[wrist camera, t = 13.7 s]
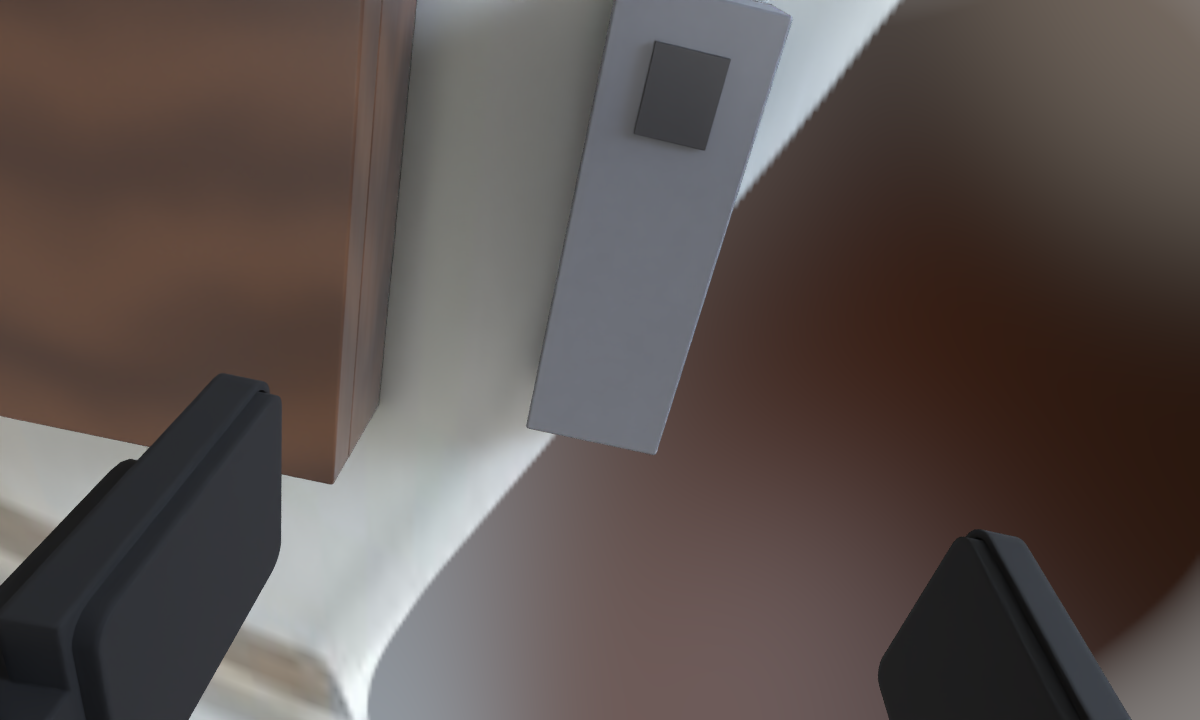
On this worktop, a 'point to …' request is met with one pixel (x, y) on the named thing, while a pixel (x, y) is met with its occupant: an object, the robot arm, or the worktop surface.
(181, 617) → the robot arm
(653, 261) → the grey long block
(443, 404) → the worktop surface
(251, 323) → the shelf
